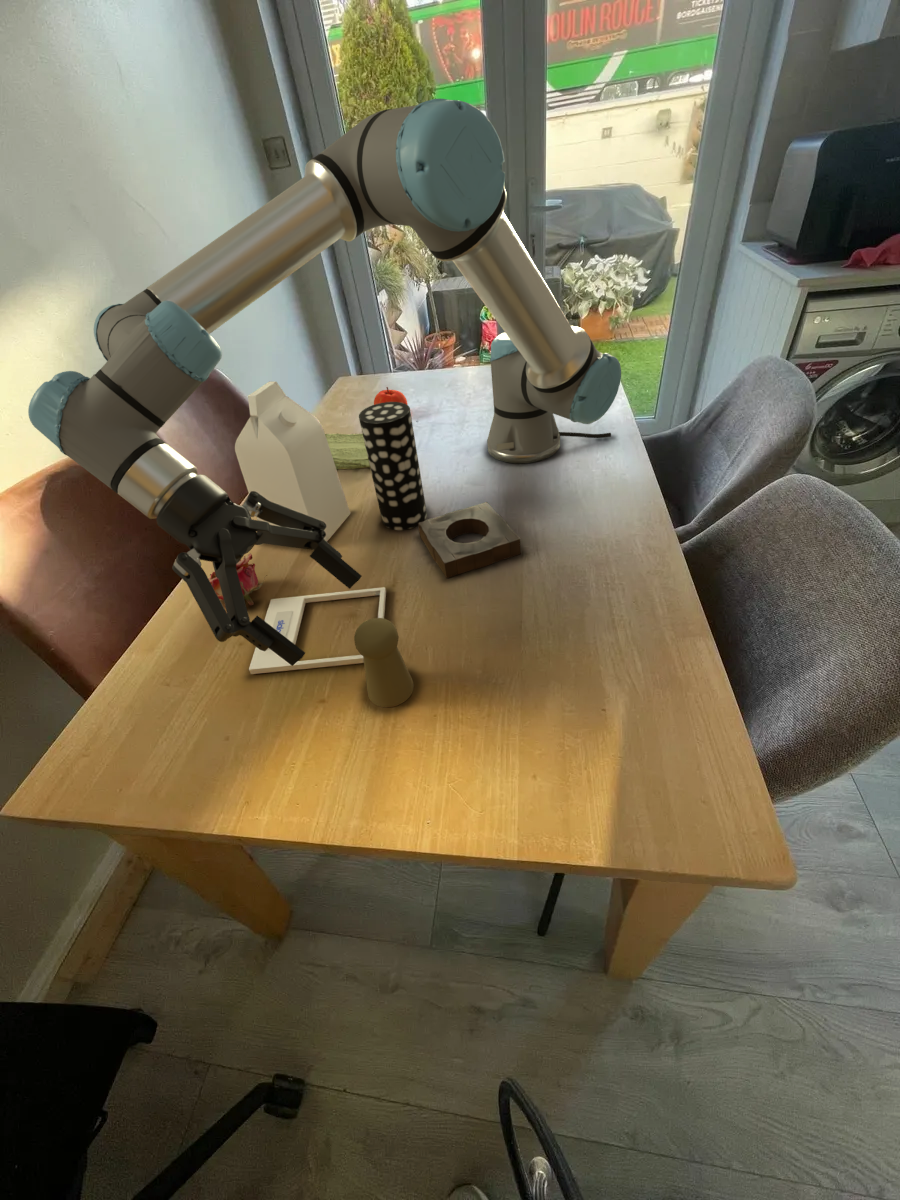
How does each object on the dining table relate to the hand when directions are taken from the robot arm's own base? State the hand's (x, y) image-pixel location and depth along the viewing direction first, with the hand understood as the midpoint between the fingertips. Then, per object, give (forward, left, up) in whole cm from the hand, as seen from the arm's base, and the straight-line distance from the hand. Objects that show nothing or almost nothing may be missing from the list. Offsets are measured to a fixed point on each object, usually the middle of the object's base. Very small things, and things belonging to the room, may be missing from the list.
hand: (329, 618), depth 65 cm
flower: (+13, -25, -11) cm, 30 cm away
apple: (-29, -78, -11) cm, 84 cm away
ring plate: (-25, -20, -11) cm, 34 cm away
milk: (-1, -40, -11) cm, 42 cm away
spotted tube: (-18, -34, -11) cm, 40 cm away
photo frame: (+2, -11, -11) cm, 16 cm away
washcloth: (-14, -65, -11) cm, 68 cm away
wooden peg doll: (-4, +4, -11) cm, 13 cm away
